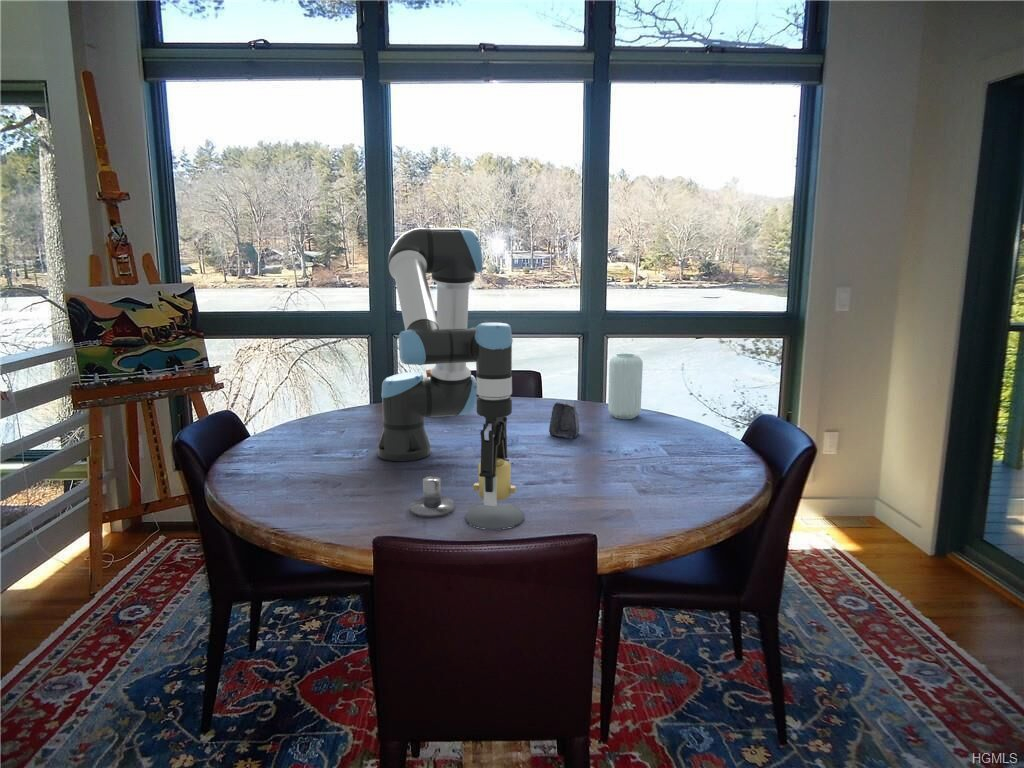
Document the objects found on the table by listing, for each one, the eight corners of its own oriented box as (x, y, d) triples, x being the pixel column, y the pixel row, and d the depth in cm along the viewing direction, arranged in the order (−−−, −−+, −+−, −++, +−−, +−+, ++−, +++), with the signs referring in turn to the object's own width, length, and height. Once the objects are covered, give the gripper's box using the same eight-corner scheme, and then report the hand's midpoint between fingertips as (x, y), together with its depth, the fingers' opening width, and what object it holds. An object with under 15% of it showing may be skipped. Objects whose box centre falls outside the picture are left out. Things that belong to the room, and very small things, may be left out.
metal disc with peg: (403, 516, 145) (402, 485, 143) (419, 499, 154) (418, 470, 153) (446, 519, 143) (445, 488, 141) (459, 503, 152) (459, 473, 151)
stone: (570, 446, 203) (542, 433, 207) (578, 443, 213) (551, 431, 216) (584, 410, 202) (555, 398, 205) (592, 409, 211) (564, 398, 214)
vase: (616, 411, 241) (618, 351, 237) (645, 415, 234) (648, 354, 230) (602, 417, 232) (604, 355, 227) (631, 422, 225) (634, 358, 221)
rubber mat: (457, 526, 139) (457, 523, 139) (474, 504, 151) (474, 501, 151) (517, 532, 136) (517, 529, 136) (529, 509, 149) (529, 505, 149)
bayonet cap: (478, 487, 147) (478, 454, 146) (518, 490, 145) (518, 457, 144) (469, 498, 140) (469, 463, 139) (512, 501, 138) (512, 466, 137)
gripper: (488, 386, 149) (489, 482, 153) (463, 405, 130) (465, 514, 134) (521, 387, 147) (520, 484, 152) (500, 407, 128) (500, 517, 132)
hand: (494, 498), depth 143 cm, fingers closed on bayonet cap, 7 cm apart
